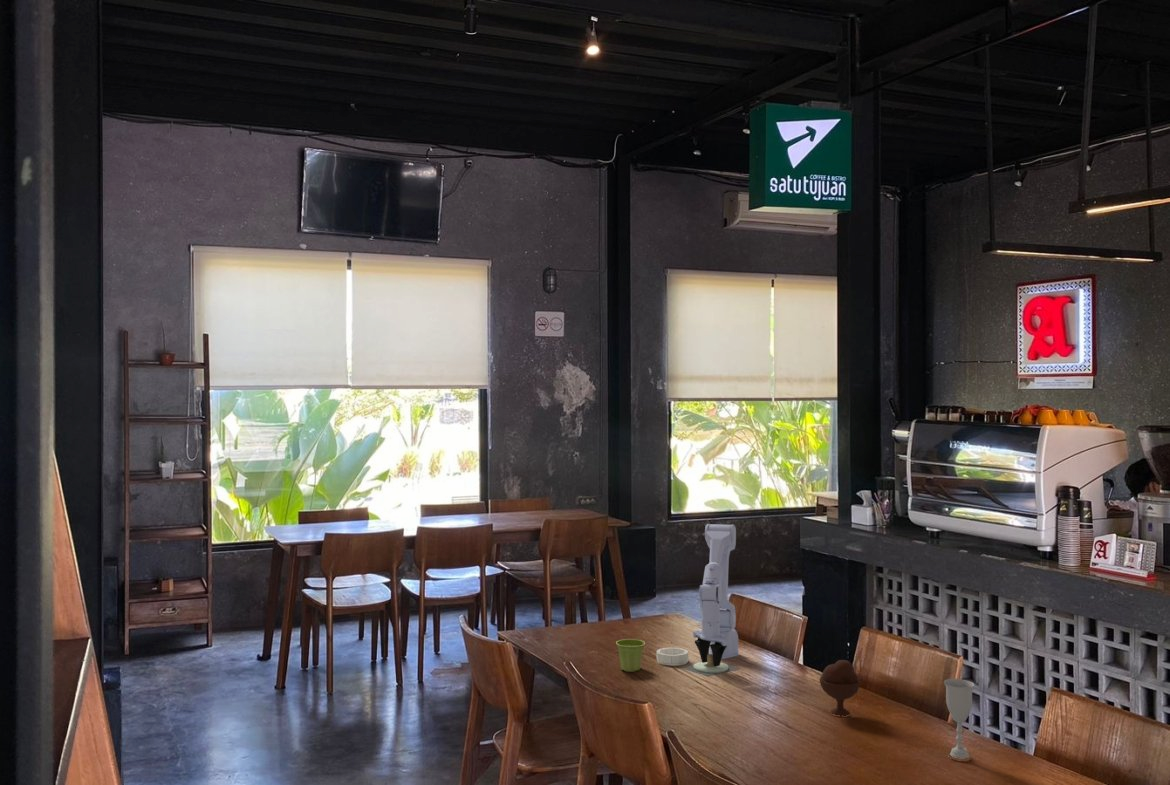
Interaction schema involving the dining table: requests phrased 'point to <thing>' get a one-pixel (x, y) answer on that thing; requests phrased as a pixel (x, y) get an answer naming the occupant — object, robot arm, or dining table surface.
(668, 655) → the bowl
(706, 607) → the robot arm
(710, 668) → the lid
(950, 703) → the chalice
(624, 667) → the plant pot
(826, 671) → the ice cream bowl
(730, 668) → the mat
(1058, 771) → the dining table surface
